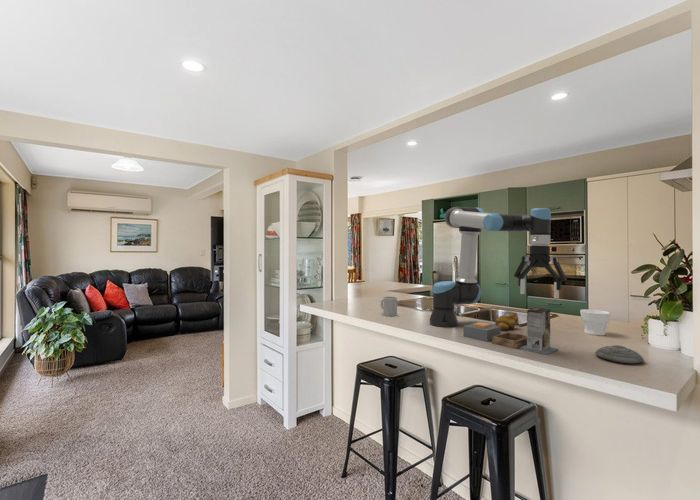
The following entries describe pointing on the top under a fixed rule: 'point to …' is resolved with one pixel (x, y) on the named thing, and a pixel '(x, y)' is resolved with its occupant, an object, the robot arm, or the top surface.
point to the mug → (389, 306)
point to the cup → (595, 321)
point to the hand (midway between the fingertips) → (538, 295)
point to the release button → (482, 325)
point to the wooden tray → (504, 340)
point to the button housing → (481, 332)
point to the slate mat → (546, 352)
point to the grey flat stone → (619, 354)
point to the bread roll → (507, 321)
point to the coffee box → (538, 329)
